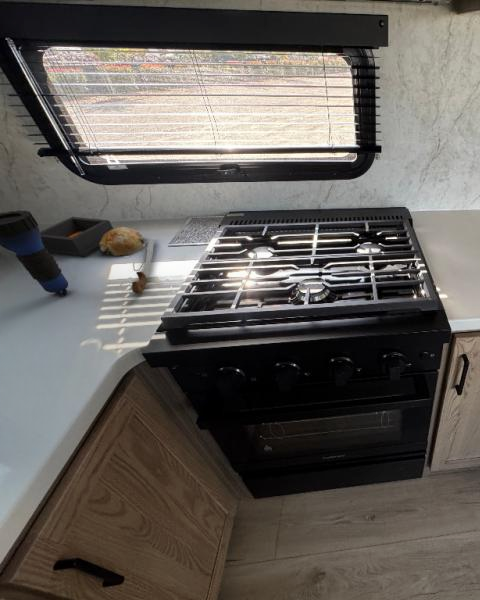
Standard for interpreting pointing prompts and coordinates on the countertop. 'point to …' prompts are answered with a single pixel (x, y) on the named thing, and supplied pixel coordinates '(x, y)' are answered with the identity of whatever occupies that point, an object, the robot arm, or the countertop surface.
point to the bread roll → (121, 241)
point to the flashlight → (31, 250)
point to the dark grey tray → (75, 236)
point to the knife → (143, 271)
